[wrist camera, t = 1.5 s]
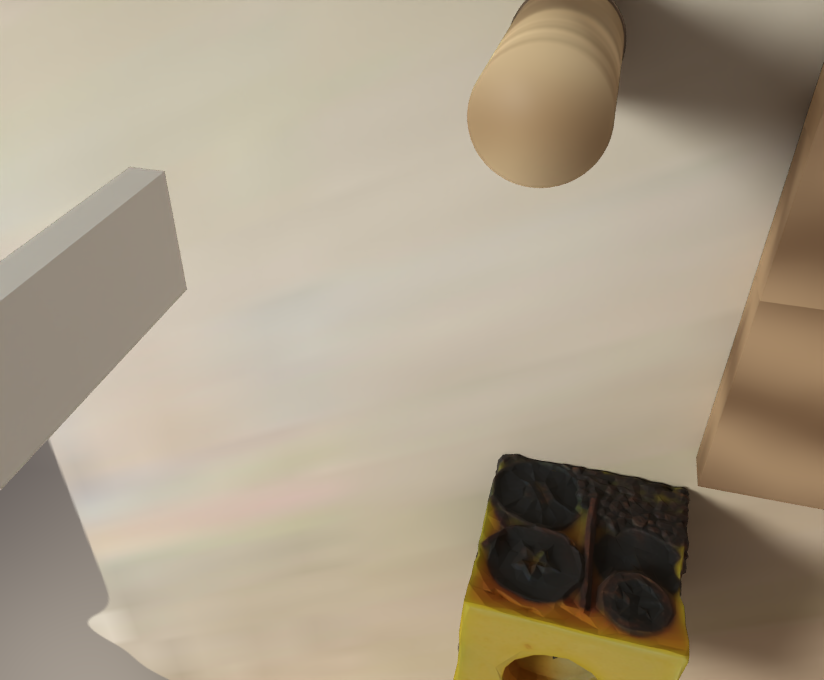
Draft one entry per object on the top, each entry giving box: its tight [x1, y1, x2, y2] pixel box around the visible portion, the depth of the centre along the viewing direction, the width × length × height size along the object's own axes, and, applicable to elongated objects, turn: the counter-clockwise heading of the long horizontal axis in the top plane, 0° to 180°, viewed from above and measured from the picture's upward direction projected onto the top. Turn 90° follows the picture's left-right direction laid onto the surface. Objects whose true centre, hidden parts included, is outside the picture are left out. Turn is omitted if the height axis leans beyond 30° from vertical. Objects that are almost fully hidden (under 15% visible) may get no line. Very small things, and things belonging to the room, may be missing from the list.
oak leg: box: [467, 0, 626, 188], centre depth 25 cm, size 4×4×10 cm
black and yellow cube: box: [454, 455, 689, 680], centre depth 40 cm, size 10×10×10 cm
